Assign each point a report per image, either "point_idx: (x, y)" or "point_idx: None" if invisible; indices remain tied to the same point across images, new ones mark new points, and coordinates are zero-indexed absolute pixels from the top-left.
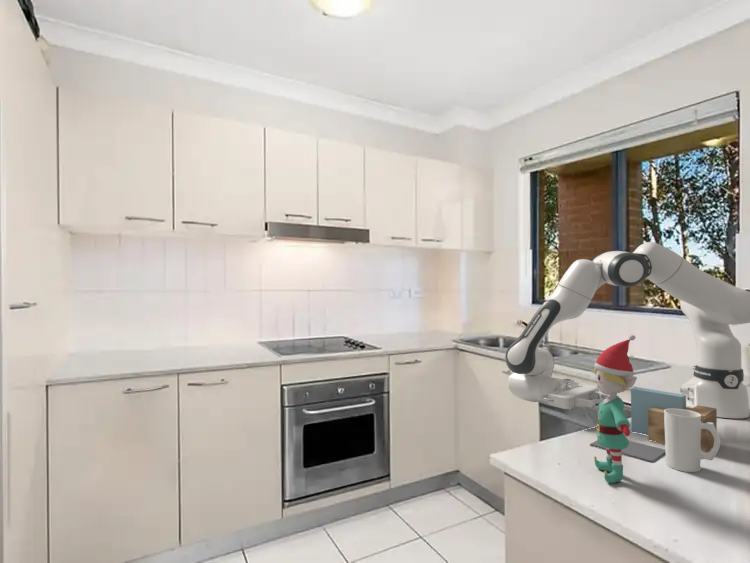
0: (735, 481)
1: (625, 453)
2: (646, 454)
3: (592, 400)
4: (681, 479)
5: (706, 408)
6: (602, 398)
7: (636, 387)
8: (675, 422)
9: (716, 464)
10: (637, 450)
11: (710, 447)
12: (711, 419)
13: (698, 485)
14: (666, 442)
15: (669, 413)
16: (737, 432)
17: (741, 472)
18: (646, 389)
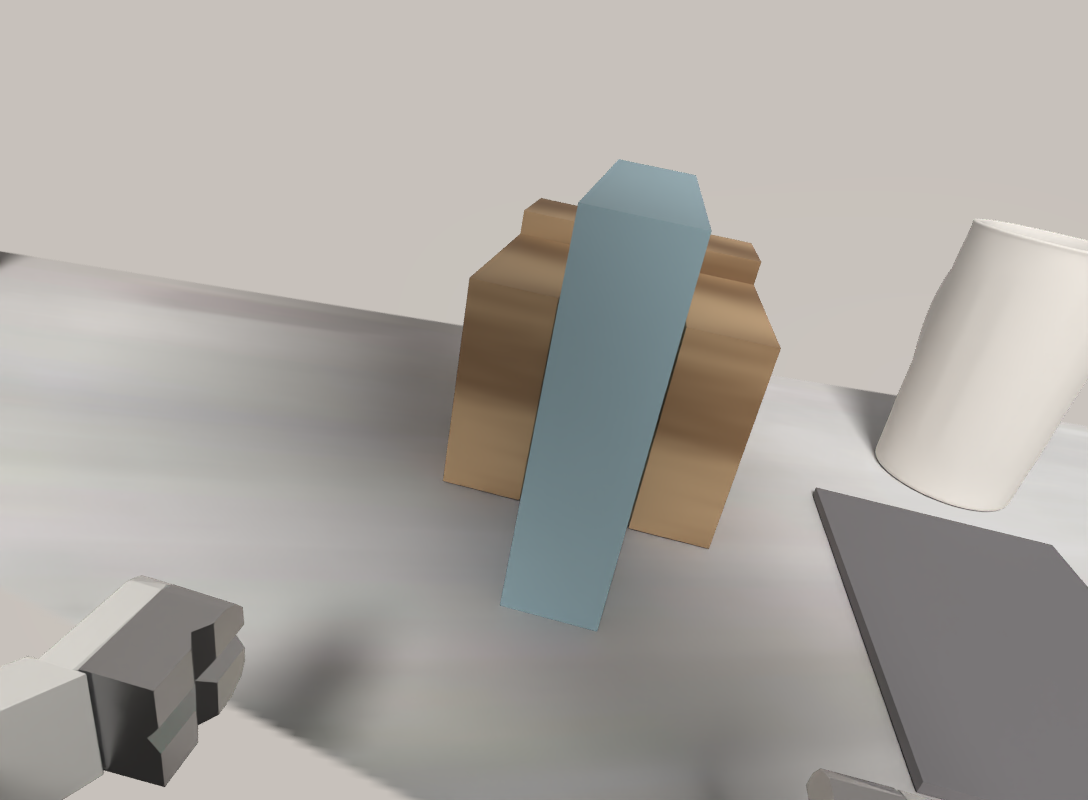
0: (889, 401)
1: None
2: (997, 559)
3: (849, 794)
4: (1073, 492)
5: (575, 211)
6: (174, 723)
7: (603, 204)
8: None
9: (782, 406)
10: (995, 591)
11: None
12: None
13: (1054, 465)
14: (1060, 416)
15: None
16: (263, 301)
17: (788, 379)
18: (627, 193)
